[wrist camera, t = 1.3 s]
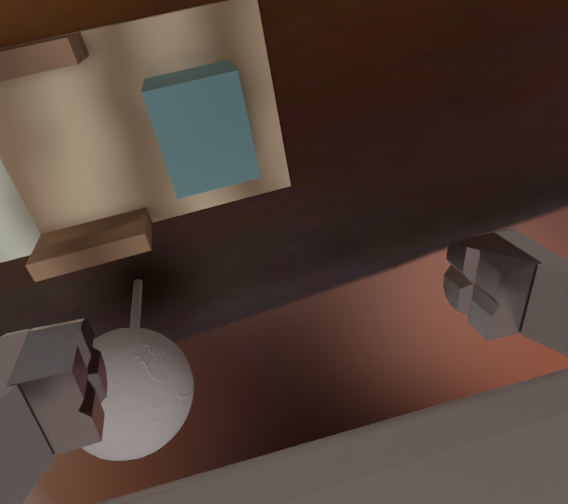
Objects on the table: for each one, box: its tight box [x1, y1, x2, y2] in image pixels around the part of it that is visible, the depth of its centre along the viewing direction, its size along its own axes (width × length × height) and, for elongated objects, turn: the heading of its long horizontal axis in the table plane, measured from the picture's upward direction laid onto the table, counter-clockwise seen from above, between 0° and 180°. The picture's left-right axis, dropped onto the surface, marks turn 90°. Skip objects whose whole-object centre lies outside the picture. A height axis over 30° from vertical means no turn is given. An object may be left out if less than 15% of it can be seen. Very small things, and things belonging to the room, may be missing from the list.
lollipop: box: [81, 279, 193, 460], centre depth 28 cm, size 7×7×15 cm
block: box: [141, 60, 261, 199], centre depth 26 cm, size 5×6×4 cm
